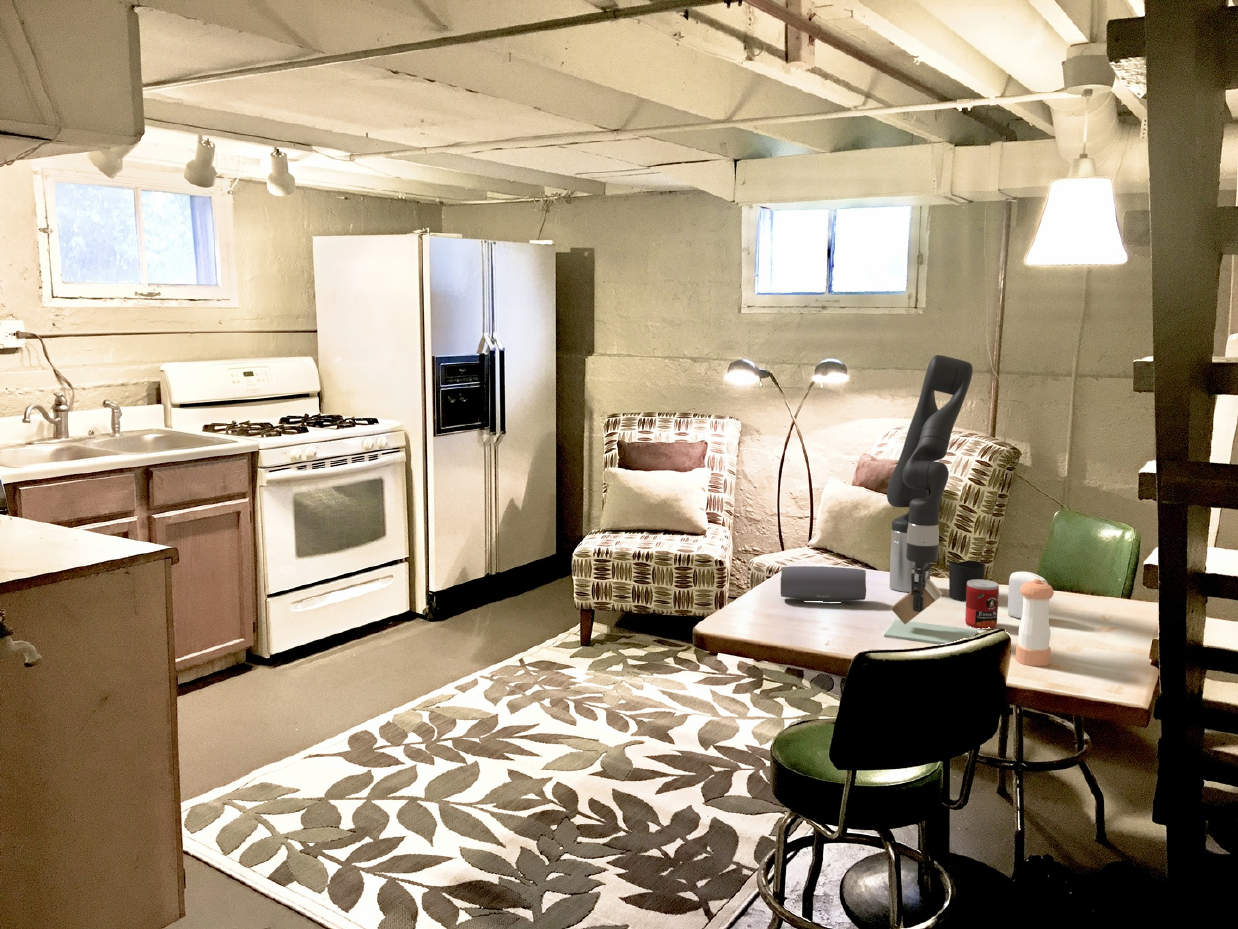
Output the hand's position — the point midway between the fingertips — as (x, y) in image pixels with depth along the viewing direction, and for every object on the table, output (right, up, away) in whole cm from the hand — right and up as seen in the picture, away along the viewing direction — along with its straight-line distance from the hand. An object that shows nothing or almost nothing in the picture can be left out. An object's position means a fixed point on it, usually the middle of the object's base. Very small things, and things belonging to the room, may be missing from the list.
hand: (919, 608), depth 245 cm
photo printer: (+32, -5, +13) cm, 35 cm away
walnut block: (-4, -2, +2) cm, 5 cm away
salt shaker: (+20, -9, -20) cm, 30 cm away
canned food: (+18, -6, +7) cm, 20 cm away
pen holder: (+23, -2, +33) cm, 40 cm away
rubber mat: (+3, -6, -1) cm, 7 cm away
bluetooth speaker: (-18, -3, +29) cm, 34 cm away
